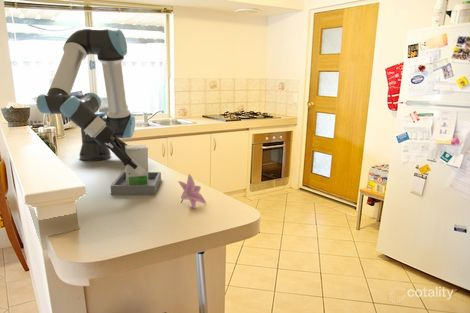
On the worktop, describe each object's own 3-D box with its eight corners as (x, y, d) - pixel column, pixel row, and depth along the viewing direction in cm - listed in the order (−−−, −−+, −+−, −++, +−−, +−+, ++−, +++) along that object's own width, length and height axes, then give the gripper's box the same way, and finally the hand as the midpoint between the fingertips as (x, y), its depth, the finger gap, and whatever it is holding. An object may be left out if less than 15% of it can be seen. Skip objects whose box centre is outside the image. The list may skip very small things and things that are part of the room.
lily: (175, 215, 112) (188, 193, 109) (163, 192, 120) (175, 171, 117) (203, 217, 121) (216, 196, 117) (190, 195, 128) (202, 175, 125)
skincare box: (127, 188, 131) (125, 148, 127) (125, 182, 137) (123, 145, 133) (149, 185, 134) (148, 147, 131) (146, 180, 140) (145, 144, 136)
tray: (122, 179, 144) (122, 171, 143) (161, 179, 145) (160, 172, 144) (111, 194, 126) (110, 185, 126) (154, 194, 128) (154, 185, 127)
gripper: (97, 132, 139) (137, 166, 146) (87, 145, 115) (135, 184, 123) (110, 119, 139) (149, 153, 146) (103, 129, 115) (150, 170, 123)
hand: (143, 168), depth 135 cm, fingers open, 13 cm apart
